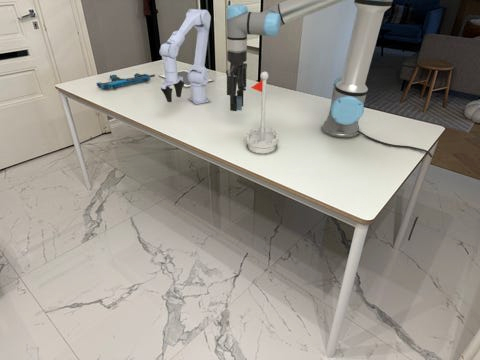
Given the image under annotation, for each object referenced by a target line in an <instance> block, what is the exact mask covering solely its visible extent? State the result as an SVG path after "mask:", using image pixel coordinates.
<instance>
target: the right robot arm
mask: <svg viewBox="0 0 480 360" xmlns="http://www.w3.org/2000/svg"><path fill="white" fill-rule="evenodd" d="M393 1H394V0H353V4H354V5H355V7H356V14H355V18H354V22H353V26H352V31H351V36H350V40H349V44H348V49H347V53H346V58H345V62H344V66H343V70H342V74H341V75H342V76H339V77H336V78H335V79H334V82H333V84H332V85H333V86H332V87H333V88H332V93H331V101H330V107H329V112H328V115H327V117H326V120H325V121H324V123H323V126H322V130H323V132H324V133H325V134H326V135H329V136H332V137H335V138H339V139H341V138H342V139H349V138H354V137H356V136H357V135H359V134H360V135H362V136H363V137H365V138H367V139H369V140H371V141H373V142H375V143H379V144H382V145H385V146H389V147H395V148H406V149H411V150H412V149H413V150H416V151H421V152H423V153H426V154H427V155H428V156H429V157H430V158H434V156H433V154H432V153H431V152H430V151H428V150H427V149H424V148H419V147H415V146H411V145H402V144H401V145H400V144H392V143H388V142H384V141H381V140H378V139H375V138H373V137H370V136H368V135H367V134H365V133H364V132H363V131H360V125H359V120H361V118H362V117H363V114H364V113H365V101H366V99H367V94H368V90H369V88H368V86H367V85H366V82H367V77H368V74H369V70H370V67H371V64H372V59H373V55H374V51H375V49H376V45H377V40H378V38H379V37H378V36H379V33H380V29H381V26H382V22H383V19H384V15H385V12H386V11H387V10H389V9H390V8H391V7H392V4H393ZM342 2H346V0H285V1H282V2H280V3H278V4H275V5H273V6H268V7H267V8H265V9H264V10H263V11H261V12H260V11H259V12H258V11H249V9H248V6H247V5H245V4H230V5H228V6H227V8H226V18H225V19H226V49H227V52H226V59H227V62H229V63H230V64H229V70H228V69H227V70H226V71H225V73H226V96H229V110H230V111H232V112H238V110H237V96H242V108H243V107H244V92H245V91H247V68H248V64H247V63H246V62H247V60H248V59H247V58H248V57H247V54H248V52H247V49H248V35H250V36H252V35H253V36H267V37H277V36H278V35H279V34H280V31H281V30H280V29H281V26H284V25H286V24H288V23H291V22H294V21H296V20H299V19H302V18H305V17H306V16H309V15H312V14H314V13H316V12H320V11H321V10H324V9H327V8H330V7H332V6H335V5H338V4H340V3H342ZM418 219H419V216H416V217H415V219H414V222H413V224H412V227H411V229H410V232H409V234H408V235H409V236H408V238H407V241H410V240H411V237H412V235H413V232H414V229H415V226H416V225H417V221H418Z"/></svg>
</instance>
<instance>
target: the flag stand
mask: <svg viewBox="0 0 480 360" xmlns="http://www.w3.org/2000/svg"><path fill="white" fill-rule="evenodd" d="M269 76H270V75H269V72H267V71H262V72H261V73H260V79H261V80H260V81H259V82H257V83H256V84H254V85H253V86H251V87H250V88H251V89H253V90H256V91H257V92H260V93H261V105H260V106H261V107H260V127H259V128H258V130H255V129H254V128H252V129H249V130H248V133H247V132H246V133H245V143H247V147H248V149H249V150H250V152H253V153H256V154H269V153H272V152H274V151H275V150H276V147H277V146H276V145H278V144H279V139H280V134H279V133H276V130H274V129H272V128H270V129H269V130H266V127H265V126H266V125H265V124H266V103H267V101H266V100H267V80H268V79H269Z"/></svg>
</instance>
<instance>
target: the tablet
mask: <svg viewBox="0 0 480 360" xmlns="http://www.w3.org/2000/svg"><path fill="white" fill-rule="evenodd" d="M189 71H190V70H187V69H182V70H181V69H180V70H177V74H178V77H179V76H180V77H183V81H182V82H184V86H183V88H190V86H191V84H190V82H189V81H188V73H189ZM158 76H159V77H161V78H163V79H164V80H165V79H166V77H165V73H163V74H158ZM210 82H214V80H213V79H211V78H209V80H208V83H210Z"/></svg>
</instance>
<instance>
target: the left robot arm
mask: <svg viewBox="0 0 480 360" xmlns="http://www.w3.org/2000/svg"><path fill="white" fill-rule="evenodd" d="M211 20H212V16H211V14H210V12H209V11H208V10H207V9H197V8H189V9H188V11H187V12H186V14H185V19H184V21H183V22H182V24H181V26H180V27H179V29H178V30H174V31H172V34H171V36H170V37H169V38H168V39H167V41H166V42H165V43H162V44H161V45H160V47H159V52H158V53H159V55H160V56H161V60H162V61H163V69H164V74H165V77H166V79H165V78H164V82H163V83H161V84H160V90H161V92H162V93H163V95H164V97H165V99H166V102H167V103H172V101H173V95H172V94H173V90H174V91H175V96H176V97H177V98H181V97H182V92H183V89H184V82H182V81H183V77H180V76H179V77H178V74H177V71H178V63H177V56H178V55H179V51H180V48H181V46H182V45H183V43H184V42H185V40H186V37H185V36H186V35H187V34H188V33H189V32H190V30H191V29H192V28H193V27H194V28H195V29H196V31H197V35H196V44H195V53H194V60H193V65H191V66H190V67H189V70H188V71H189V73H188V81H189V82H190V84H191V86H190V87H189V90H190V91H189V92H190V97H189V98H188V99H189V100H190V101H191V102H192V103H193V104H194V105H199V104H204V103H210V100H208V98H207V84H208V83H209V82H208V80H209V79H210V77H209V70H208V68H206V65H205V64H206V56H207V50H208V43H209V42H208V41H209V33H210V27H211ZM171 86H173V87H174V89H173V88H171Z"/></svg>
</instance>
